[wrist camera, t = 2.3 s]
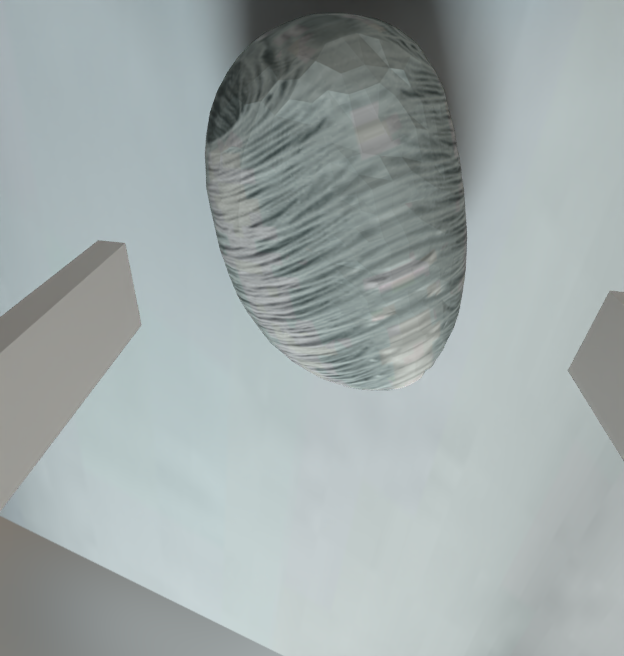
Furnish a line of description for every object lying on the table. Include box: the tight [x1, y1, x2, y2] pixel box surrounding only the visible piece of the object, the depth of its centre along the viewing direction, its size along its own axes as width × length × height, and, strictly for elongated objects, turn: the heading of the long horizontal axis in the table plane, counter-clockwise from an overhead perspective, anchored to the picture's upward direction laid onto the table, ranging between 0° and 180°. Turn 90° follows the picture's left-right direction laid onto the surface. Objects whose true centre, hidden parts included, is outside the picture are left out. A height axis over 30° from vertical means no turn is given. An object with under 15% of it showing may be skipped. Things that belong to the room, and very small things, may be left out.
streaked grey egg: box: [205, 13, 467, 390], centre depth 17 cm, size 14×10×10 cm
